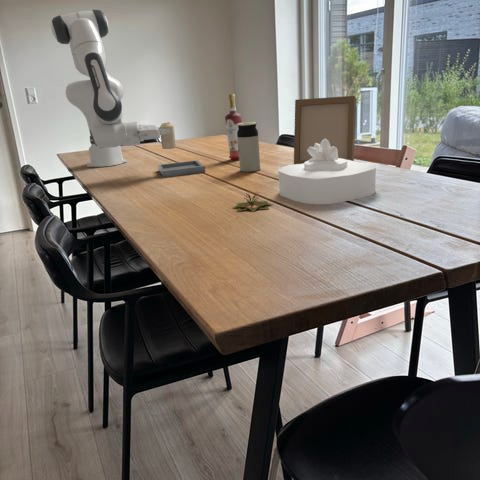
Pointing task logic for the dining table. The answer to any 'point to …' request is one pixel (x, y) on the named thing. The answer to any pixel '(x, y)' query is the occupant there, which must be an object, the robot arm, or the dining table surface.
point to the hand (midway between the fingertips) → (169, 130)
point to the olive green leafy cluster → (250, 203)
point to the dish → (181, 168)
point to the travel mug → (248, 147)
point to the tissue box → (326, 178)
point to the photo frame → (324, 126)
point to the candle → (168, 136)
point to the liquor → (233, 128)
